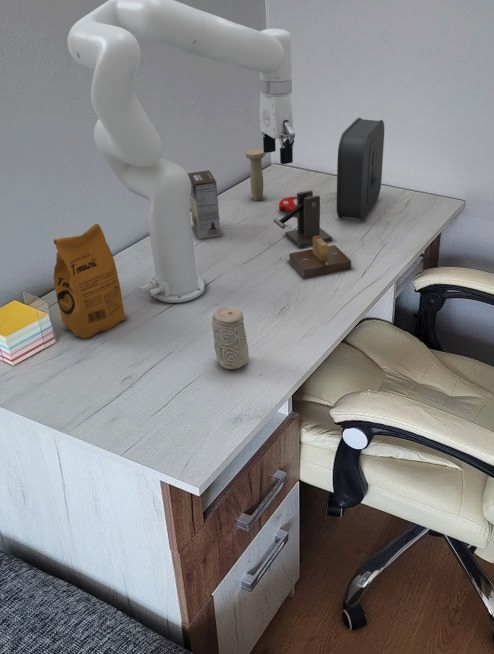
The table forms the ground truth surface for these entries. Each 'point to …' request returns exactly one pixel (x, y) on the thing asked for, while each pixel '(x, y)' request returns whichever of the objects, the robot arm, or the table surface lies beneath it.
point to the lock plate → (319, 262)
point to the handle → (256, 172)
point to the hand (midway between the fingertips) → (277, 157)
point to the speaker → (359, 168)
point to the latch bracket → (307, 222)
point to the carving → (230, 337)
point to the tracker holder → (288, 203)
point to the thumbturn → (320, 248)
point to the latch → (291, 213)
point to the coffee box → (204, 204)
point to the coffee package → (87, 284)
